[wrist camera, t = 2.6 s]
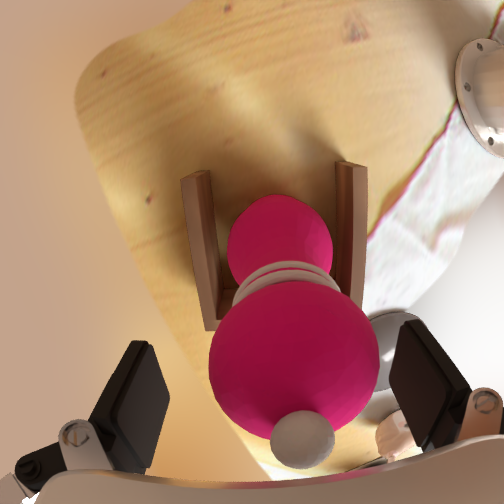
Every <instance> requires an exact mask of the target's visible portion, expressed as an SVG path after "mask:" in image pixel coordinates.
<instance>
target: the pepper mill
mask: <svg viewBox="0 0 504 504" xmlns="http://www.w3.org/2000/svg"><path fill="white" fill-rule="evenodd" d="M332 257H333V246H332V240H331V237H330V234H329V231H328V228H327V226H326V224H325V222H324V221H323V219H322V218H321V217H320V215H319V214H318V213H317V212H316V211H315V210H313V209H312V208H311V207H310V206H308V205H306V204H305V203H303V202H301V201H298V200H296V199H294V198H292V197H290V196H286V195H276V194H275V195H268V196H265V197H262V198H260V199H258V200H256V201H255V202H253V203H252V204H251V205H250V206H249V207H248V208H247V209H246V210H245V211H244V212H243V213H241V214H240V216H239V217H238V218H237V219H236V221H235V223H234V224H233V226H232V228H231V230H230V234H229V237H228V245H227V259H228V264H229V267H230V270H231V273H232V275H233V277H234V279H235V281H236V282H237V283H238V284H239V286H240V287H239V289H238V290H237V292H236V294H235V297H234V299H233V305H232V308H231V309H230V311H229V312H228V313H227V314H226V315H225V317H224V318H223V319H222V320H221V322H220V324H219V326H218V328H217V330H216V332H215V334H214V336H213V339H212V343H211V347H210V352H209V380H210V383H211V386H212V389H213V392H214V396H215V399H216V400H217V402H218V403H219V405H220V407H221V408H222V410H223V411H224V412H225V414H226V415H227V416H228V417H229V418H230V419H231V420H232V421H233V422H235V423H236V424H237V425H239V426H240V427H242V428H243V429H245V430H246V431H248V432H249V433H252V434H254V435H256V436H259V437H261V438H264V439H269V440H270V445H271V450H272V452H273V454H274V455H275V457H276V459H277V460H279V461H280V462H281V463H282V464H284V465H285V466H288V467H291V468H295V469H307V468H311V467H314V466H317V465H318V464H320V463H322V462H323V461H324V460H325V459H326V458H327V457H328V456H329V455H330V453H331V452H332V449H333V446H334V444H335V434H334V431H336V430H338V429H340V428H341V427H343V426H344V425H346V424H347V423H349V422H350V421H352V420H353V419H354V418H355V417H356V416H357V415H358V414H359V413H360V412H361V411H362V410H363V408H364V407H365V405H366V404H367V403H368V401H369V400H370V398H371V396H372V394H373V391H374V389H375V386H376V384H377V379H378V374H379V369H380V357H379V346H378V342H377V338H376V335H375V332H374V330H373V328H372V325H371V323H370V321H369V319H368V318H367V316H366V315H365V314H364V312H363V311H362V310H361V309H360V308H359V307H358V306H357V305H356V304H355V303H354V302H353V301H352V300H351V299H350V298H349V297H348V296H346V295H344V294H342V293H341V291H340V289H339V287H338V285H337V284H336V282H335V281H334V280H333V278H332V277H331V276H330V275H329V272H330V269H331V265H332Z"/></svg>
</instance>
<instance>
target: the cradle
mask: <svg viewBox="0 0 504 504" xmlns="http://www.w3.org/2000/svg"><path fill="white" fill-rule="evenodd" d="M335 174H336V216H337V243H336V284H337V285H338V287H339V289H340V291H341V293H342V294H344V295H346V296H348V297H349V298H350V299H351V300H352V301H353V302H354V303H355V304H356V305H357V306H358V307H359V308H360V309H361V310H362V301H363V290H364V278H365V263H366V245H367V211H368V179H367V167H365V166H361V165H358V164H354V163H351V162H335ZM180 181H181V188H182V196H183V203H184V210H185V217H186V224H187V231H188V237H189V243H190V250H191V256H192V262H193V268H194V273H195V279H196V285H197V290H198V296H199V301H200V306H201V311H202V316H203V322H204V327H205V331H216V330H217V328H218V326H219V324H220V322H221V320H222V319H223V318H224V317H225V315H226V314H227V313H228V312H229V311H230V309H231V308H232V305H233V299H234V297H235V294H236V292H237V290H238V289H224V286H223V279H222V272H221V264H220V257H219V249H218V241H217V234H216V226H215V218H214V209H213V201H212V192H211V184H210V175H209V170H206V171H198V172H195V173H193V174H191V175H189V176H187V177H185V178H183V179H181V180H180Z"/></svg>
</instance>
